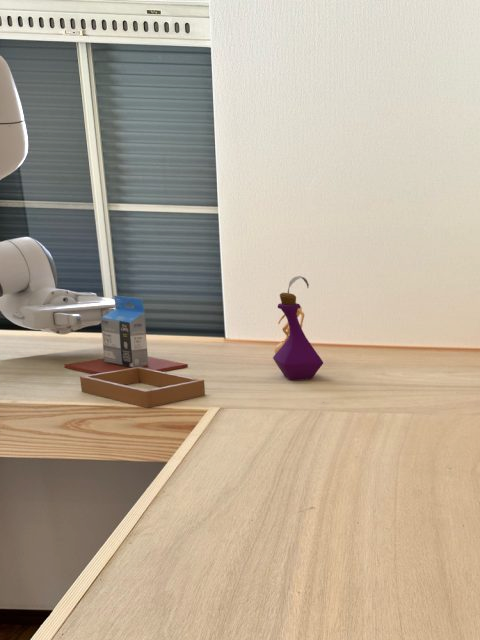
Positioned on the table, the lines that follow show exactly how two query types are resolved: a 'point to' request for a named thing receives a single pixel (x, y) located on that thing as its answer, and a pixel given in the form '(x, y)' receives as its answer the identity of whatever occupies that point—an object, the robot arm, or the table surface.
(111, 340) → the label tape box
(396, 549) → the table surface
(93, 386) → the frame
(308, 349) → the perfume bottle
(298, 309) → the figurine
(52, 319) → the robot arm
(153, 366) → the rubber mat
